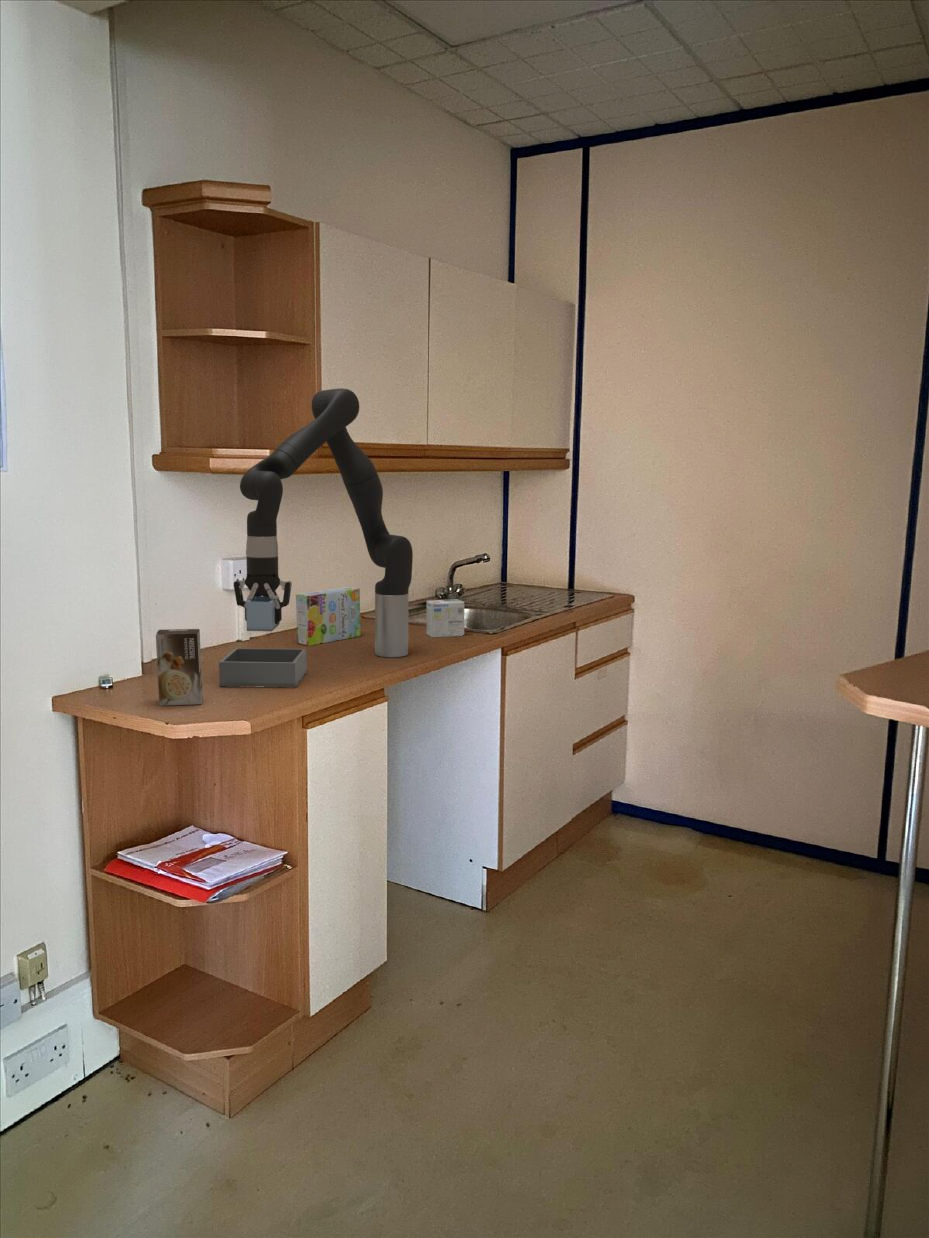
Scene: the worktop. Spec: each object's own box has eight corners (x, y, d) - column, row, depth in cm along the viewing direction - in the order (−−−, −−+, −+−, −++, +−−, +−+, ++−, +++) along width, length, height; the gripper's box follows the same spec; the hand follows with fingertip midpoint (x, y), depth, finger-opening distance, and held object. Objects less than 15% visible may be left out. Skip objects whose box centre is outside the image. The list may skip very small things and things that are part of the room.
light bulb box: (457, 632, 307) (458, 598, 305) (465, 636, 301) (465, 601, 299) (425, 634, 303) (425, 599, 302) (432, 638, 297) (432, 603, 295)
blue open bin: (255, 623, 243) (254, 596, 241) (279, 624, 243) (279, 596, 242) (246, 630, 233) (246, 601, 232) (271, 631, 233) (271, 602, 232)
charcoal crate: (235, 671, 248) (235, 648, 247) (306, 672, 248) (306, 649, 247) (219, 686, 231) (218, 662, 230) (295, 687, 232) (295, 663, 231)
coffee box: (203, 697, 221) (201, 628, 218) (201, 705, 215) (198, 633, 212) (161, 699, 219) (159, 628, 217) (157, 706, 213) (155, 634, 211)
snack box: (348, 634, 301) (348, 586, 299) (361, 636, 298) (361, 587, 295) (295, 644, 285) (295, 593, 282) (308, 646, 281) (308, 594, 279)
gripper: (294, 553, 239) (295, 621, 241) (235, 552, 239) (237, 620, 241) (289, 556, 231) (290, 626, 234) (228, 555, 231) (230, 625, 234)
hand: (263, 623), depth 238 cm, fingers closed on blue open bin, 6 cm apart
